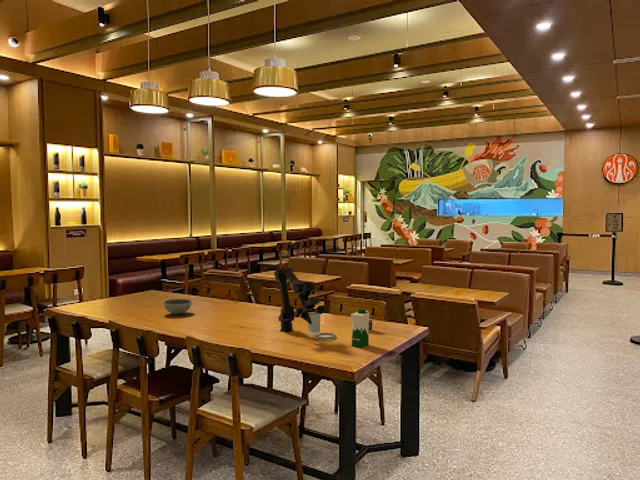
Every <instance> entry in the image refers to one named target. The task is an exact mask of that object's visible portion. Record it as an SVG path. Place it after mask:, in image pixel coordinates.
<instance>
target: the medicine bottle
mask: <svg viewBox="0 0 640 480" xmlns="http://www.w3.org/2000/svg"><path fill="white" fill-rule="evenodd" d="M365 313H369V314H370V311H367V310H365ZM371 331H373V319H372V318H369V332H371Z"/></svg>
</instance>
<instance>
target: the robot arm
mask: <svg viewBox="0 0 640 480" xmlns="http://www.w3.org/2000/svg"><path fill="white" fill-rule="evenodd" d="M273 274H274V275H273V276H274V279H275V281H276V282H277V283H278V286H279V291H280V292H279V293H280V299H281V304H282V305H281V309H280V314H279V316H278V322H280V330H279V331H280V332H286V333H289V332H291V331H293V330H294V329H293V327H294V326H293V322H294V321H295V319H296V318H300V319H303V320H304V321H305V322H307V324H308V323H309V324H312V322H311V320H310V317H309V315H308V313H314V312H316V313H319V314H320V315H322V314H324V312H325V310H326V309H327V308H326V305H324V304H320V305H318V304H319V303H320V298H319V297H318V296H317V297H314V298H310V296H311V295H312V293H313V292H314V290H315V286H314V284H313V283H310V282H309V281H305V282H304V280H303V281H302V280H300V279H299V278H298V277H297V275H296V274H295V273H294V272H293V269H292V268H291V267H283V268H280V269H279V268H278V269H277V268H276V270H274V272H273ZM287 281H289V282H290V284H291V285H292V286H291V288H292V291H293V293H295V294H298V295H297V297H296V299H297V300H299V302H300V304H301V305H300V307H299V308H298V307H297V308H296V309H295V308H294V306H292V305H291V303H290V297H289V296H290V295H289V290H288V282H287ZM316 305H317V307H316ZM315 307H316V308H315Z"/></svg>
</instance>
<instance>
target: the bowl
mask: <svg viewBox="0 0 640 480" xmlns="http://www.w3.org/2000/svg"><path fill="white" fill-rule="evenodd" d="M192 303H193V300H192V299H189V298H170V299H165V300H163V301H162V304H163V306H164V308H165V310H166V311H167V312H169V313H170V314H171V315H172V316H181V314H182V315H185V313H186V312H188V311H189V309H190V308H191V306H192Z"/></svg>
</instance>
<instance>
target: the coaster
mask: <svg viewBox="0 0 640 480" xmlns="http://www.w3.org/2000/svg"><path fill="white" fill-rule="evenodd" d="M314 338H315V340H318V341H333V340H335V339H336V338H337V335H336V334H335V333H333V332H320V335H315V336H314Z"/></svg>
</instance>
